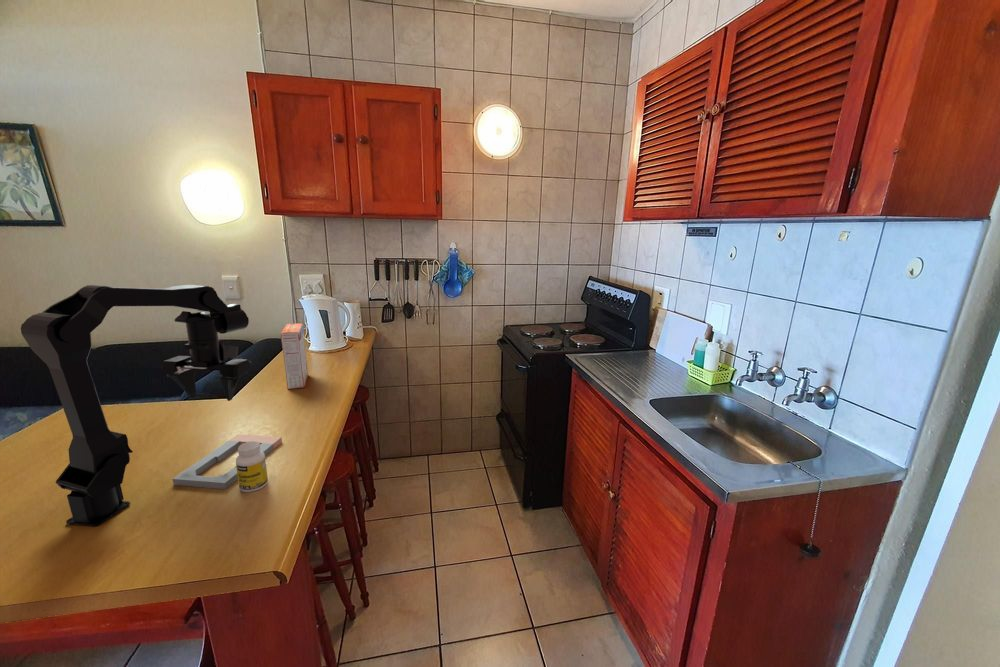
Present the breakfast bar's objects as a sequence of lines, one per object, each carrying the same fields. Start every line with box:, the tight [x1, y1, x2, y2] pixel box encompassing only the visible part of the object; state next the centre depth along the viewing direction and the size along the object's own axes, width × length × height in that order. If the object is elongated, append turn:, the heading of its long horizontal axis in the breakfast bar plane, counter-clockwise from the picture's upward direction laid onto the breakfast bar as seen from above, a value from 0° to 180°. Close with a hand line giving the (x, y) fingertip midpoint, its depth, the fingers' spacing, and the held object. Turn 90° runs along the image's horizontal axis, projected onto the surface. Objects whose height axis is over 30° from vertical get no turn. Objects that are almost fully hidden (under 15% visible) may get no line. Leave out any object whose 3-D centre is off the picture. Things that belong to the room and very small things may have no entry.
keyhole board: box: [172, 433, 283, 490], centre depth 95 cm, size 20×12×2 cm, turn 176°
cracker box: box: [280, 322, 309, 390], centre depth 143 cm, size 14×6×21 cm, turn 20°
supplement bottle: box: [235, 441, 269, 493], centre depth 86 cm, size 5×5×10 cm
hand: (211, 399), depth 97 cm, fingers open, 9 cm apart
